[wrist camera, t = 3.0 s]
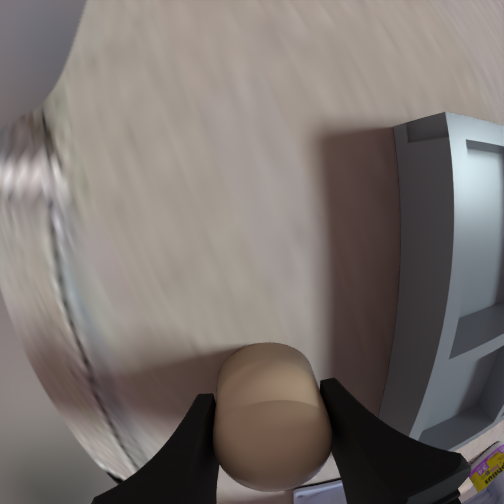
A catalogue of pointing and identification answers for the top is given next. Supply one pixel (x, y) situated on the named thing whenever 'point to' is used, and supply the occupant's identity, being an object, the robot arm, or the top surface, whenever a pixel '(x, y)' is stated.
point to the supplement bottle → (487, 466)
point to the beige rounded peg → (270, 419)
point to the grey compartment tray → (448, 282)
